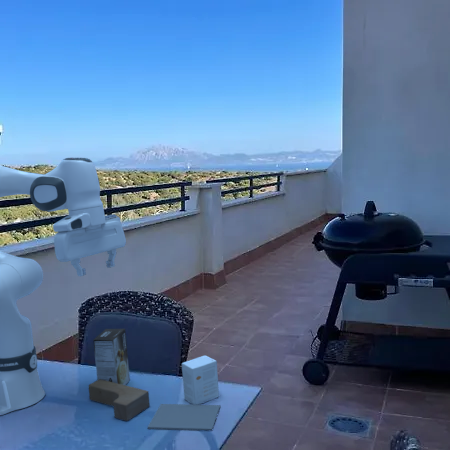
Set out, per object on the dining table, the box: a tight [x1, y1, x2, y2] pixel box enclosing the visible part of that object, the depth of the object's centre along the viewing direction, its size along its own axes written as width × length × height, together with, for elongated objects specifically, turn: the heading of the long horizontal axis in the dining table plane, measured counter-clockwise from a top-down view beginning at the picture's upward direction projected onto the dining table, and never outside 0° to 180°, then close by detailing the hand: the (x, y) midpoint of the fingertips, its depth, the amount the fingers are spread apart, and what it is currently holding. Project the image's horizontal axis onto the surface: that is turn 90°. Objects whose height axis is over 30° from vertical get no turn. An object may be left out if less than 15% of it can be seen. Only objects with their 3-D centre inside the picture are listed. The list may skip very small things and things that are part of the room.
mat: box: [147, 403, 221, 431], centre depth 136 cm, size 16×12×1 cm
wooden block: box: [88, 379, 150, 422], centre depth 144 cm, size 9×4×18 cm
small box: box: [181, 354, 220, 405], centre depth 145 cm, size 8×6×10 cm
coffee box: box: [92, 328, 131, 386], centre depth 155 cm, size 9×6×16 cm
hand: (96, 271), depth 141 cm, fingers open, 8 cm apart
